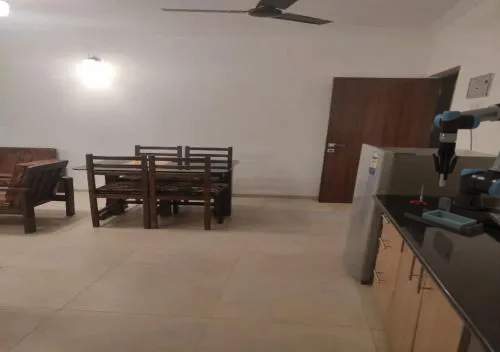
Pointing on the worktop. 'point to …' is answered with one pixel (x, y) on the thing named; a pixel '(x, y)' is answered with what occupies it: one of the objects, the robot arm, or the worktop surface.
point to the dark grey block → (444, 204)
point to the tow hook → (420, 198)
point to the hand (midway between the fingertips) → (441, 185)
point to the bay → (448, 228)
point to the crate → (449, 219)
